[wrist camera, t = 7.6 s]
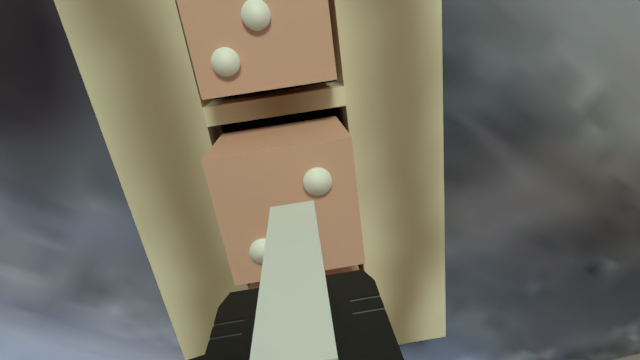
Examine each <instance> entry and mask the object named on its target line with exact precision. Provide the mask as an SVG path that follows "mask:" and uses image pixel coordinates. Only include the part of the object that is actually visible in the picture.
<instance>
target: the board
mask: <svg viewBox="0 0 640 360" xmlns="http://www.w3.org/2000/svg"><path fill="white" fill-rule="evenodd" d="M54 2H55V5H56V8H57V11H58V13H59V16H60V19H61V22H62V24H63V27H64V30H65V33H66V35H67V38H68V41H69V43H70V46H71V49H72V52H73V54H74V57H75V60H76V63H77V65H78V68H79V71H80V74H81V76H82V79H83V82H84V84H85V87H86V90H87V93H88V95H89V98H90V101H91V104H92V106H93V109H94V112H95V115H96V117H97V120H98V123H99V125H100V128H101V131H102V134H103V136H104V139H105V142H106V145H107V147H108V150H109V153H110V156H111V158H112V161H113V164H114V166H115V169H116V172H117V175H118V177H119V180H120V183H121V186H122V188H123V191H124V194H125V197H126V199H127V202H128V205H129V207H130V210H131V213H132V216H133V218H134V221H135V224H136V227H137V229H138V232H139V235H140V238H141V240H142V243H143V246H144V248H145V251H146V254H147V257H148V259H149V262H150V265H151V268H152V270H153V273H154V276H155V279H156V281H157V284H158V287H159V289H160V292H161V295H162V298H163V300H164V303H165V306H166V309H167V311H168V314H169V317H170V320H171V322H172V325H173V328H174V330H175V333H176V336H177V339H178V341H179V344H180V347H181V350H182V352H183V355H184V358H185V360H189V359H192V358H195V357H198V356H201V355H205V352H206V348H207V345H208V341H210V334H211V331H212V327H214V320H215V317H216V313H217V310H218V307H219V306H220V304H221V303H222V302H223V301H224V299H225V298H226V297H227V296H228V294H229V293H230V292H236V291H242V290H248V289H250V283H248V284H242V285H236V286H235V284H234V280H233V276H232V273H231V269H230V265H229V262H228V258H227V254H226V251H225V247H224V243H223V239H222V236H221V232H220V228H219V225H218V221H217V217H216V214H215V210H214V206H213V203H212V199H211V195H210V192H209V188H208V184H207V180H206V177H205V173H204V169H203V166H202V162H201V160H202V158H203V157H204V156H205V155H206V153H207V152H208V151H209V150H210V148H211V147H212V146H213V145H214V143H215V142H216V141H217V139H218V138H219V137H220V136H221V134H222V133H223V131H222V127H221V125H224V124H230V123H237V122H243V121H250V120H256V119H263V118H269V117H276V116H282V115H289V114H295V113H302V112H308V111H315V110H321V109H328V108H334V107H339V115H340V122H341V123H342V125H343V126H344V127H345V129H346V130H347V131H348V133H349V134H350V135H351V136H352V145H353V154H354V163H355V173H356V182H357V191H358V201H359V210H360V219H361V228H362V238H363V247H364V256H365V264H359V265H358V267H359V270H361V269H363V270H364V271H365V272H366V273H367V274H368V275H369V276H371V277H372V278H373V279H374V280H375V282H376V285H377V288H378V291H379V293H380V297H381V299H382V302H383V304H384V308H385V310H386V312H387V315H388V318H389V321H390V323H391V326H392V329H393V331H394V334H395V337H396V340H397V342H398V345H400V344H405V343H411V342H417V341H422V340H428V339H433V338H439V337H444V336H446V314H445V234H444V154H443V74H442V0H328V4H329V13H330V21H331V30H332V39H333V47H334V56H335V65H336V73H337V80H335V81H334V82H328V83H321V84H314V85H308V86H301V87H295V88H288V89H281V90H275V91H268V92H261V93H255V94H248V95H242V96H235V97H228V98H222V99H215V98H212V99H205V100H202V99H201V95H200V91H199V87H198V83H197V79H196V75H195V71H194V67H193V63H192V59H191V55H190V51H189V48H188V44H187V40H186V36H185V32H184V28H183V24H182V20H181V16H180V12H179V8H178V4H177V0H54Z"/></svg>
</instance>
